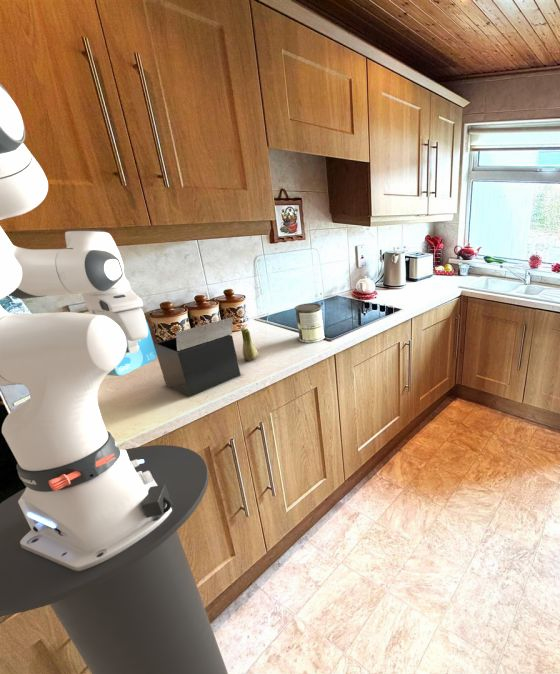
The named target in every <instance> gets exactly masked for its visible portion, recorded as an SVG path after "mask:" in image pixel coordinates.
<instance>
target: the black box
mask: <svg viewBox="0 0 560 674" xmlns="http://www.w3.org/2000/svg"><path fill="white" fill-rule="evenodd" d="M153 344H154V347H155V351H156V358H157V361H158V363H159V365H160V370H161V374H162V376H163V379H164V383H165V386H166V387H168V388H169V389H172V390H174V391H177V392H179V393H181V394H183V395H185V396H187V397H189V398H190V397H191V398H192V397H194V396H195V395H198V394H200V393H202V392H205V391H207V390H209V389H212V388H214V387H217V386H219V385H221V384H224V383H227V382H228V381H230V380H233V379H236V378H238V377H240V376H241V371H240V365H239V361H238V357H237V351H236V346H235V343H234V338H233V335H232V334H230V335H227V336H224V337H221V338H218V339H215V340H212V341H208V342H205V343H202V344H199V345H196V346H193V347H190V348H186V349H183V350H180V351H177V341H176V336H175V337H172V338H168V339H165V340H162V341H159V342H158V341H157V342H155V343H153Z"/></svg>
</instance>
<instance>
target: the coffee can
mask: <svg viewBox="0 0 560 674" xmlns="http://www.w3.org/2000/svg"><path fill="white" fill-rule="evenodd" d="M294 311H295V316H296V317H295V318H296V322H297V331H298V339H299V341H300V342H302V343H316V342H320V341H322V340H324V339H325V338H326V337H325V329H324V320H323V311H322V305H321V304H320V303H315V302H314V303H313V302H309V303H308V302H307V303H301V304H298V305H296V306H295V307H294Z"/></svg>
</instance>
